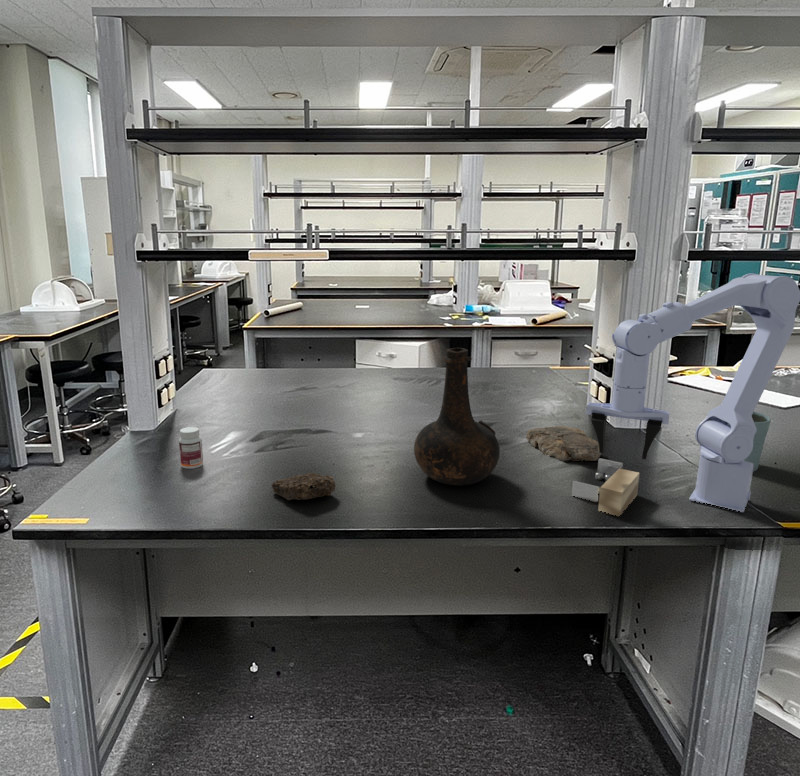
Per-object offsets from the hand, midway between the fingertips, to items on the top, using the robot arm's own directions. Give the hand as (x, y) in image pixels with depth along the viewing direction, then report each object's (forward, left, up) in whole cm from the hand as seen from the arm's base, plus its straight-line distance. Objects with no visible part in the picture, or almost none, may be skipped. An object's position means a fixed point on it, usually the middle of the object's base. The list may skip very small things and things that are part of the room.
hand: (622, 454), depth 116 cm
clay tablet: (+19, -23, -10) cm, 31 cm away
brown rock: (+51, +34, -10) cm, 62 cm away
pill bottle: (+83, +37, -10) cm, 91 cm away
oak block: (0, 0, -10) cm, 10 cm away
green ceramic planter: (-16, -37, -10) cm, 41 cm away
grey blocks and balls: (+6, -6, -10) cm, 13 cm away
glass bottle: (+32, +8, -10) cm, 34 cm away
